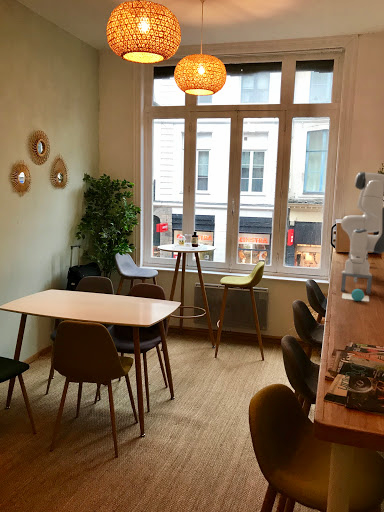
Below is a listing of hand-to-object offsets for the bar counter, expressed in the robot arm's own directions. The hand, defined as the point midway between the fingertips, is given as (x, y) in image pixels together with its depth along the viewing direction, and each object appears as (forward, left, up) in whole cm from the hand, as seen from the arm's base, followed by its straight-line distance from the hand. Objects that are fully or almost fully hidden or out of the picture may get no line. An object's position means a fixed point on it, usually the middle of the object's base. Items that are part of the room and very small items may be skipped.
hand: (355, 281), depth 261 cm
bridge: (+13, 0, -3) cm, 14 cm away
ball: (+35, +1, 0) cm, 35 cm away
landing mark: (+27, 0, -3) cm, 28 cm away
